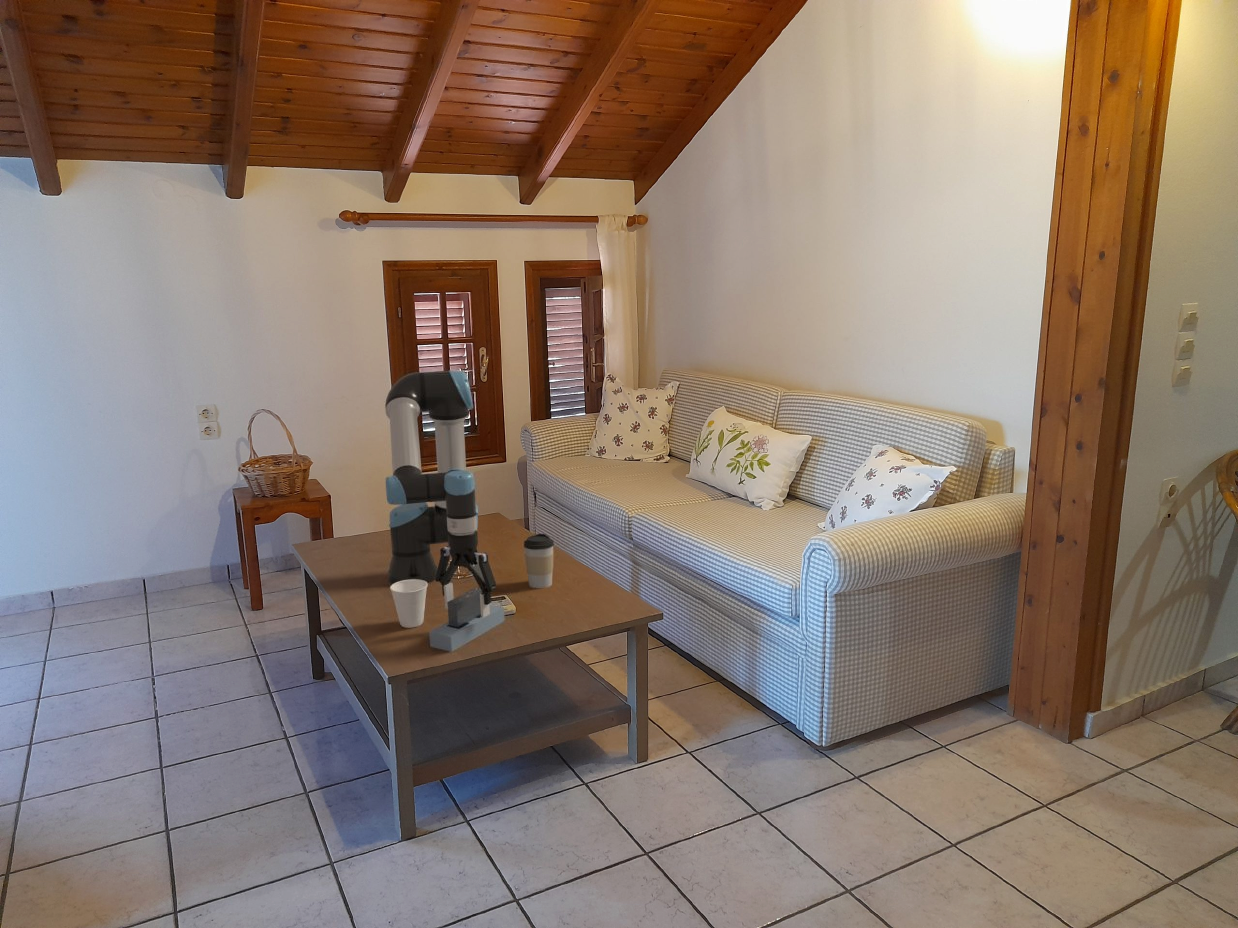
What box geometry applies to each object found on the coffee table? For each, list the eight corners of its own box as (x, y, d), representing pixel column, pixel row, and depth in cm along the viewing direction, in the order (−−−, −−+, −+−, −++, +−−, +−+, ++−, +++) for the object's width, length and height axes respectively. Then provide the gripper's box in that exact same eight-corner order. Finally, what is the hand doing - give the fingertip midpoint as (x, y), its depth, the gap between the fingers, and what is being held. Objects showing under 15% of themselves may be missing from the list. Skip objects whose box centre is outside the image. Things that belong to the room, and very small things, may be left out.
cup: (396, 617, 244) (393, 580, 242) (432, 615, 245) (429, 578, 243) (390, 632, 235) (386, 593, 232) (428, 630, 235) (425, 591, 233)
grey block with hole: (430, 646, 225) (429, 631, 224) (484, 616, 244) (483, 602, 243) (451, 651, 222) (450, 636, 221) (504, 621, 240) (504, 607, 240)
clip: (449, 638, 229) (447, 602, 226) (477, 622, 238) (475, 587, 236) (458, 640, 227) (456, 604, 225) (486, 624, 237) (484, 589, 235)
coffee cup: (550, 590, 263) (548, 542, 259) (521, 588, 264) (519, 540, 261) (558, 579, 271) (557, 532, 268) (530, 578, 273) (528, 531, 270)
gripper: (417, 529, 229) (423, 608, 234) (490, 541, 218) (494, 624, 223) (436, 522, 236) (442, 599, 240) (508, 533, 224) (512, 614, 229)
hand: (467, 611), depth 231 cm, fingers open, 11 cm apart
